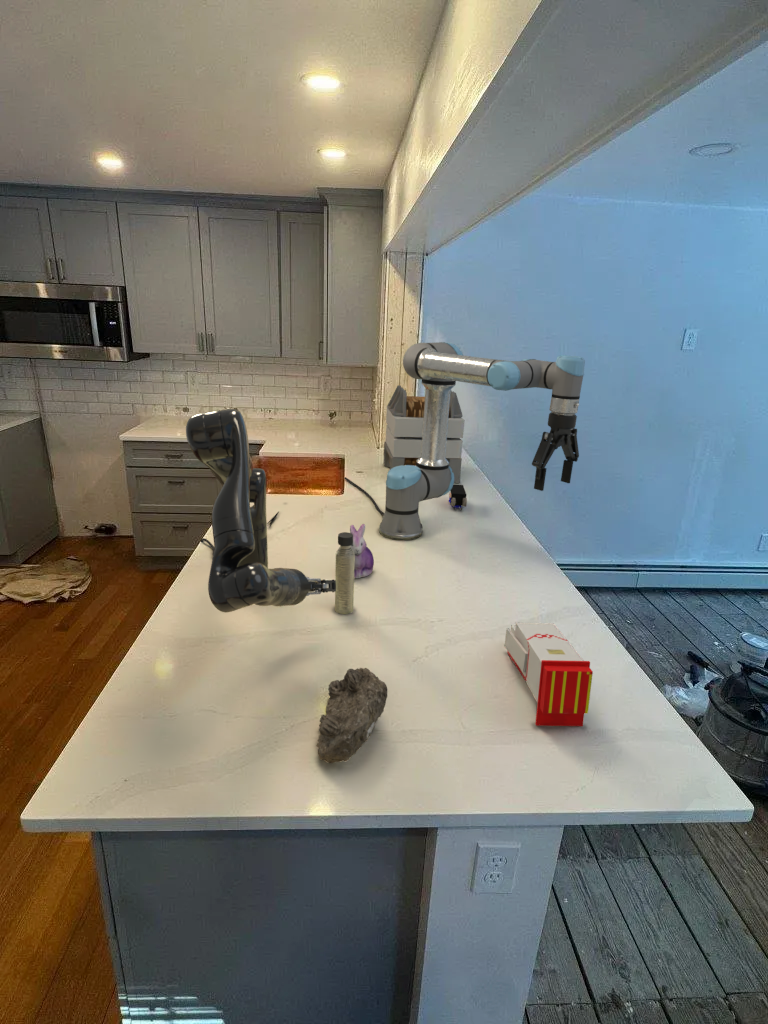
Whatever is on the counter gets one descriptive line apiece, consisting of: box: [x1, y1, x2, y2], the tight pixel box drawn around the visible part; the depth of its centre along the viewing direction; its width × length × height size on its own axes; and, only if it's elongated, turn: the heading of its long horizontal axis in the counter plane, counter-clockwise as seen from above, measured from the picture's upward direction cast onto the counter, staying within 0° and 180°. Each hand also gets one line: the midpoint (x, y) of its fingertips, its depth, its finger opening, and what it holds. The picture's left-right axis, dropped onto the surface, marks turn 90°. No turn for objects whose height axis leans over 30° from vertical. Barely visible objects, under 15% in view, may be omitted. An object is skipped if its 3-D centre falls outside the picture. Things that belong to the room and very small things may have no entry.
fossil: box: [316, 667, 388, 764], centre depth 106 cm, size 22×10×15 cm
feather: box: [267, 512, 279, 529], centre depth 212 cm, size 2×28×2 cm
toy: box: [503, 622, 594, 727], centre depth 121 cm, size 12×13×30 cm
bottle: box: [334, 545, 355, 615], centre depth 145 cm, size 5×5×21 cm
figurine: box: [349, 523, 375, 579], centre depth 167 cm, size 9×10×15 cm
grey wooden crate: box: [383, 384, 465, 484], centre depth 268 cm, size 34×33×41 cm
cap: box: [337, 531, 353, 546], centre depth 142 cm, size 4×4×2 cm
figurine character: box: [448, 483, 468, 511], centre depth 230 cm, size 7×8×15 cm
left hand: (314, 586), depth 129 cm, fingers open, 8 cm apart
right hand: (552, 485), depth 166 cm, fingers open, 13 cm apart
